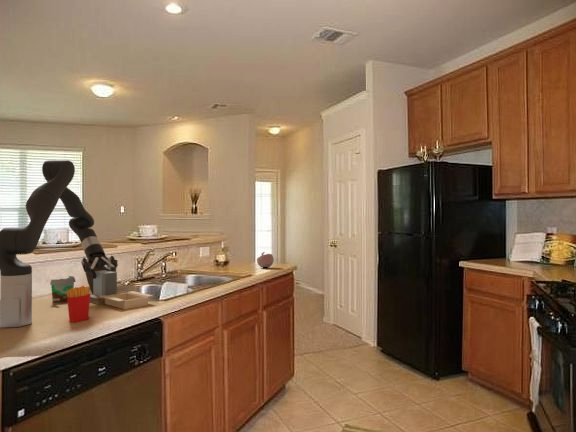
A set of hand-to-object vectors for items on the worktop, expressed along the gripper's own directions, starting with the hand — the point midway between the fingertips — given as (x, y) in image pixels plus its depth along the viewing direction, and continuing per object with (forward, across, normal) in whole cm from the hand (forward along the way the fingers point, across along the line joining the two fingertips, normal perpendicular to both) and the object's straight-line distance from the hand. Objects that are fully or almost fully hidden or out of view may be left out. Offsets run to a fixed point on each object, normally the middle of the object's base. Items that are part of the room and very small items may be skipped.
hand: (105, 276), depth 191 cm
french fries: (+26, -22, -10) cm, 35 cm away
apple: (-16, +133, +32) cm, 138 cm away
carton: (+18, +2, -3) cm, 19 cm away
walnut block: (+8, 0, +8) cm, 11 cm away
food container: (-4, -10, +20) cm, 22 cm away
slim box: (+6, 0, +6) cm, 8 cm away
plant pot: (-7, +8, +22) cm, 25 cm away
